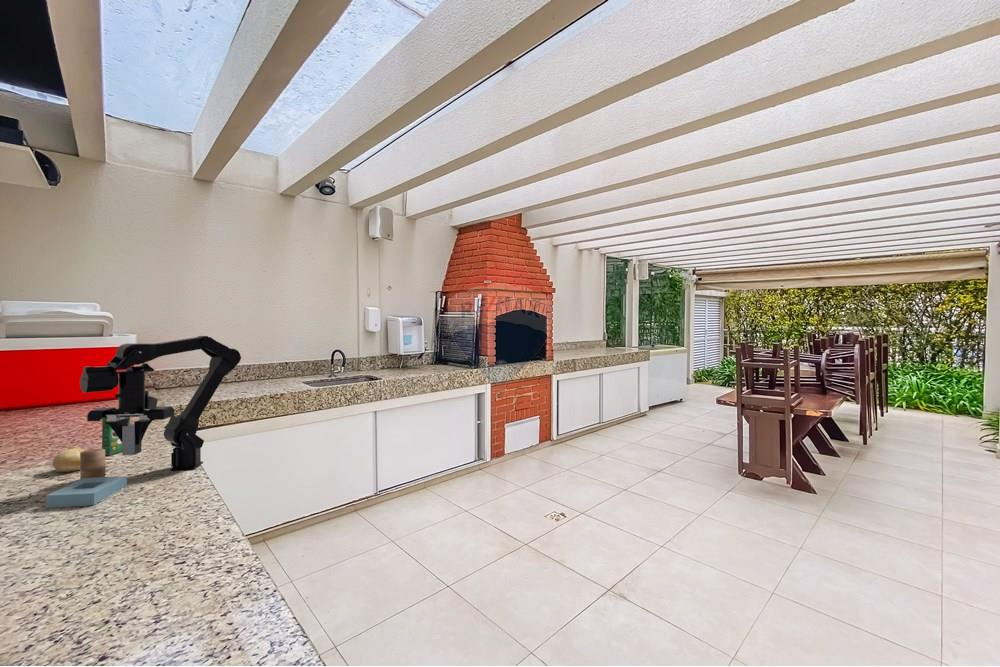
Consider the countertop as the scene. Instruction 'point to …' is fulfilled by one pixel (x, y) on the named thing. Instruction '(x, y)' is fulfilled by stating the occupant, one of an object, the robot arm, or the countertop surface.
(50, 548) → the countertop surface
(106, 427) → the coffee box
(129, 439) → the square peg
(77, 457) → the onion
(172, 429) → the robot arm
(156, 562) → the countertop surface
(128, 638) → the countertop surface
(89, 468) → the round peg
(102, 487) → the socket board
